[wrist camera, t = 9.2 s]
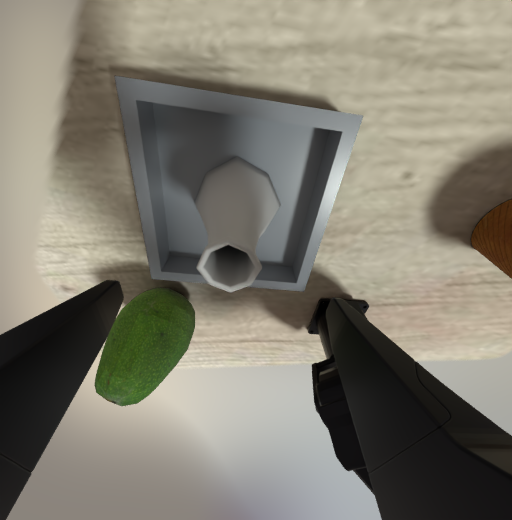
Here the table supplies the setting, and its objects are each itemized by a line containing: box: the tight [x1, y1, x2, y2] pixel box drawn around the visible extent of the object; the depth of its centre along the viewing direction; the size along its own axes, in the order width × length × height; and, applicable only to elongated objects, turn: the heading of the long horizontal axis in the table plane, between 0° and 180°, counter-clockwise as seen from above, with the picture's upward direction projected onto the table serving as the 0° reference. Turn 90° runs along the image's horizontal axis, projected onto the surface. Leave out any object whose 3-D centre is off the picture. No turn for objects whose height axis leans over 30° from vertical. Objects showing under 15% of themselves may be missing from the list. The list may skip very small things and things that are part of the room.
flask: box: [195, 157, 281, 293], centre depth 15 cm, size 7×7×10 cm
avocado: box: [95, 288, 195, 406], centre depth 22 cm, size 8×8×12 cm
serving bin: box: [115, 76, 363, 292], centre depth 19 cm, size 15×15×4 cm
